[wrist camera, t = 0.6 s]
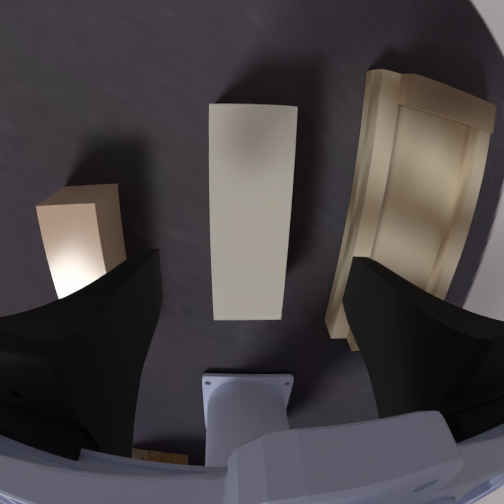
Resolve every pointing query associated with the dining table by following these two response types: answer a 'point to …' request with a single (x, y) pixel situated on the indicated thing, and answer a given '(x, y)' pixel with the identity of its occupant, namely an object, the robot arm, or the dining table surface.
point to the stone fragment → (159, 456)
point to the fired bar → (81, 234)
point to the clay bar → (250, 207)
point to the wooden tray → (412, 183)
